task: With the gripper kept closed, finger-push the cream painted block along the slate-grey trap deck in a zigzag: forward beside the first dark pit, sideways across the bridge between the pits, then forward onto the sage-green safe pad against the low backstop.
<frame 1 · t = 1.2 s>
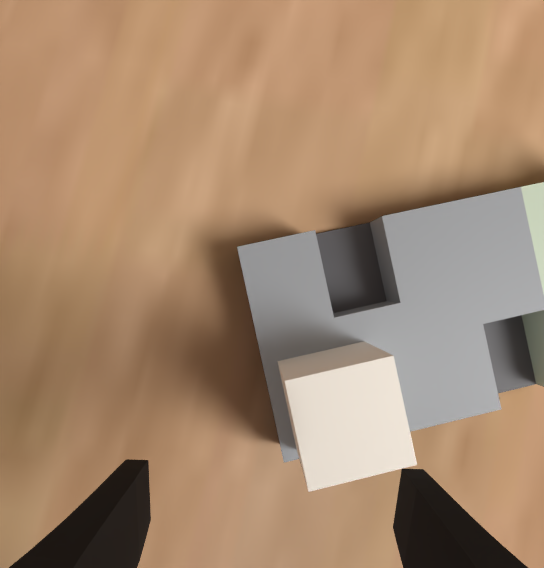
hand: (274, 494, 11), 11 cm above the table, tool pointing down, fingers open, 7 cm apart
block: (330, 394, 19), point 2 cm above the table, touching trap deck
trap deck: (431, 308, 22), on the table
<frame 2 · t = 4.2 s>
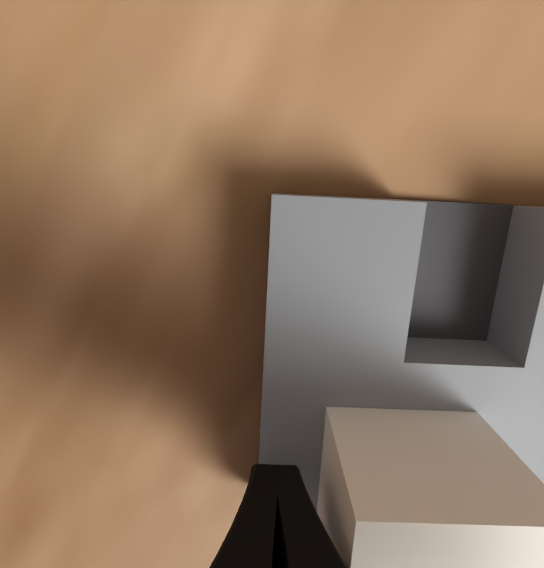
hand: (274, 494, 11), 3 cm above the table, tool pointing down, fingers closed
block: (392, 473, 12), point 2 cm above the table, touching gripper
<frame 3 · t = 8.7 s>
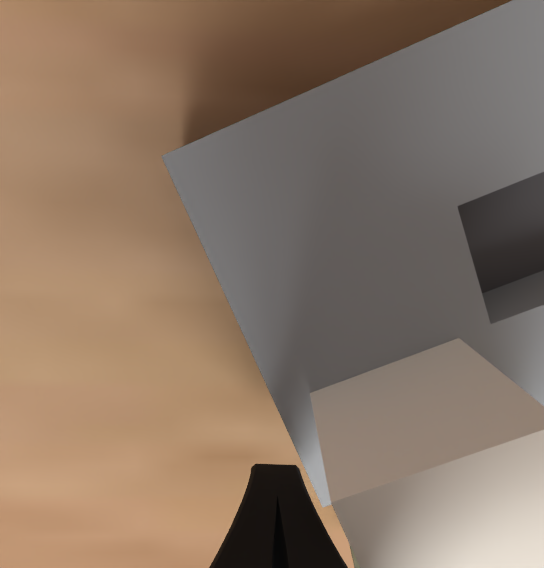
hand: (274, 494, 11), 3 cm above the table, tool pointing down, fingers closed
block: (406, 429, 12), point 2 cm above the table, touching gripper
trap deck: (445, 374, 14), on the table
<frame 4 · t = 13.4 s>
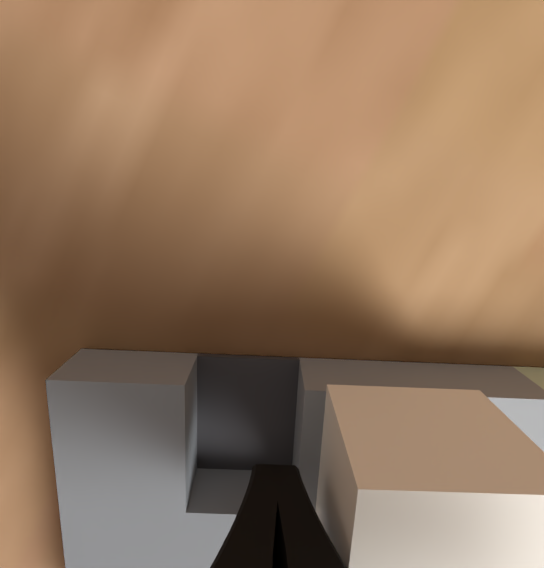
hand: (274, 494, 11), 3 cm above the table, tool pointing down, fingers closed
block: (394, 453, 12), point 2 cm above the table, touching gripper, trap deck
trap deck: (354, 492, 15), on the table
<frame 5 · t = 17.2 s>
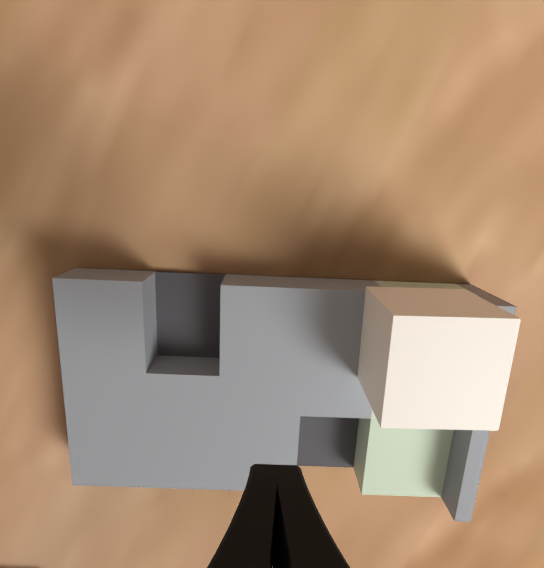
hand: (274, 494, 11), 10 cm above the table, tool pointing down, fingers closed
block: (409, 334, 18), point 2 cm above the table, touching trap deck
trap deck: (270, 375, 21), on the table
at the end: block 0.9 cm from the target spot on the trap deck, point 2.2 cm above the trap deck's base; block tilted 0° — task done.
